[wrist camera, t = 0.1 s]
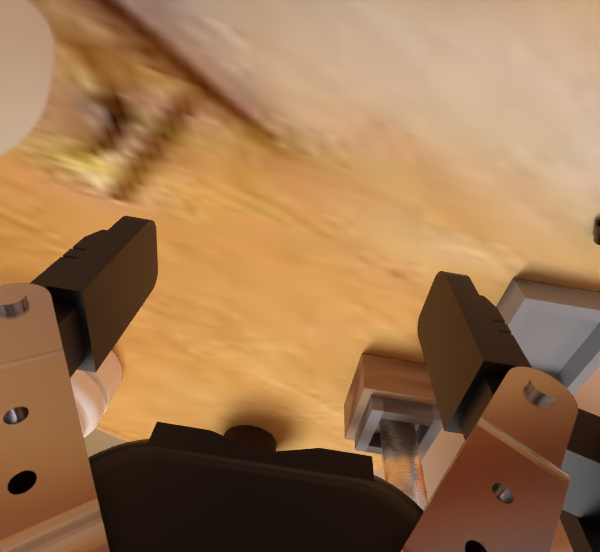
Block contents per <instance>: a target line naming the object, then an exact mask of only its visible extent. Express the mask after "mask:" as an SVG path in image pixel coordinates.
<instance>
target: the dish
mask: <svg viewBox="0 0 600 552" xmlns="http://www.w3.org/2000/svg"><path fill="white" fill-rule="evenodd" d="M497 308H498V310H499V312H500V314H501V315H502V317H503V319H504V320H505V324H507V325H508V327H509V329H510V331H511V335H513V336H514V337H515V339H516V341H517V343H518V344H519V346H520V348H521V349H522V351H523V353H524V355H525V356H526V358H527V360H528V361H529V363H530V365H531V366H532V368H533V369H537V370H539V371H542V372H544V373H546V374H548V375H550V376H551V377H553V378H555V379H556V380H558V381H559V382H560V383H561V384H563V385H564V386H565V387H566V388H567V389H568V390H569V391H570V392H571V394H572V395H574V394H575V393H576V392H577V391H578V390H579V389H580V387H581V386H582V385H583V384H584V383H585V382H586V381H587V380H588V379H589V378H590V376H591V375H592V374H593V373H594V372H595V371H596V370H597V368H598V367H599V366H600V293H599V292H593V291H587V290H581V289H575V288H569V287H563V286H557V285H551V284H545V283H539V282H533V281H527V280H521V279H515V278H513V280H512V281H511V283H510V285H509V286H508V288H507V290H506V291H505V293H504V295H503V297H502V298H501V300H500V302H499V303H498V305H497Z"/></svg>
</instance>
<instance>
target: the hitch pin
mask: <svg viewBox="0 0 600 552" xmlns="http://www.w3.org/2000/svg"><path fill="white" fill-rule="evenodd" d="M379 430H380V440H381V451H382V462H383V471H384V480H385V481H387V482H389V483H391V484H392V485H394V486H395V487H397V488H398V489H400V490H401V491H402V492H404V493H405V494H406V495H407V496H409V497H410V498H411V499H412V500H413V501H414V502H416V503H417V504H418V505H419V506H420V507H421V509H422V510H423V509H424V508H425V506H426V504H427V503H428V498H427V492H426V487H425V481H424V475H423V469H422V464H421V458H420V452H419V446H418V441H417V435H416V429H415V424H413V423H407V422H401V421H394V420H388V419H382V418H381V419H380V421H379Z"/></svg>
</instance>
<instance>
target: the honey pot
mask: <svg viewBox="0 0 600 552" xmlns="http://www.w3.org/2000/svg"><path fill="white" fill-rule="evenodd" d="M122 377H123V376H122V367H121V364H120V362H119V360H118V358H117V356H116V355H115V353H114V352H113V351H112V350H111V351H110V353H109V354H108V356H107V357H106V359H105V360H104V362H103V363H102V364H101V366H100V367H99V369H98V370H97V372H96V373H95V372H89V371H83V370H76V371H75V373H74V374H73V375H72V377H71V378H70V380H71V385H72V389H73V393H74V398H75V402H76V407H77V411H78V415H79V420H80V424H81V428H82V433H83V437H85V436H87V435H88V434H89V433H90V432H92V431H93V430H94V429H95V427H96V426H97V425H98V423H99V420H100V418H101V417H102V416H103V414H104V412H105V411H106V409H107V407H108V405H109V404H110V402H111V400H112V398H113V396H114V395H115V393H116V391H117V389H118V387H119V385H120V383H121V380H122Z"/></svg>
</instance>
